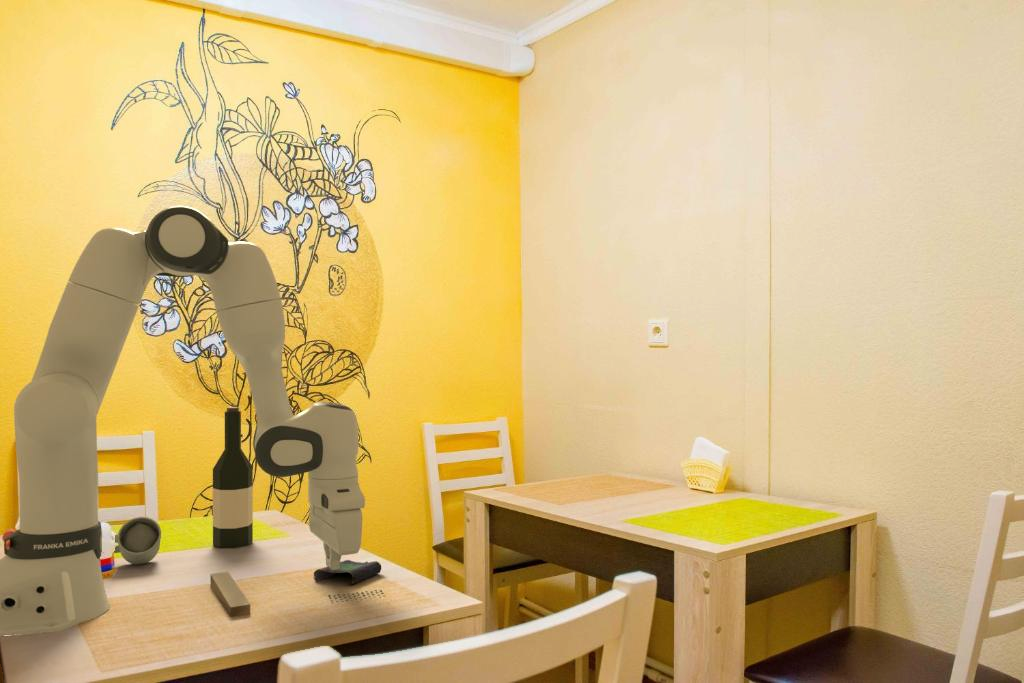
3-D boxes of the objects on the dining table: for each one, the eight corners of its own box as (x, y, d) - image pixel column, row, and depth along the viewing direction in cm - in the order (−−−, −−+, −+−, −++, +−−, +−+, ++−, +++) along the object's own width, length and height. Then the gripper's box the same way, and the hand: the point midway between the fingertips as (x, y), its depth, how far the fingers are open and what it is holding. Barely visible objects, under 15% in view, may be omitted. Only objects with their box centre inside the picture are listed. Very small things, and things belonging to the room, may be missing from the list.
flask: (312, 568, 145) (348, 557, 155) (312, 585, 145) (349, 572, 155) (353, 571, 141) (388, 559, 151) (353, 588, 141) (388, 575, 151)
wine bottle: (211, 540, 177) (211, 406, 177) (250, 536, 181) (250, 405, 180) (214, 549, 170) (214, 409, 169) (255, 545, 173) (254, 408, 173)
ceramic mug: (150, 571, 159) (167, 536, 164) (149, 559, 153) (167, 522, 158) (96, 555, 158) (115, 519, 162) (94, 542, 151) (113, 505, 156)
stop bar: (230, 626, 125) (230, 607, 125) (210, 590, 143) (210, 574, 143) (250, 623, 127) (250, 604, 127) (227, 588, 144) (227, 571, 144)
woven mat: (384, 599, 140) (384, 587, 140) (396, 619, 130) (397, 607, 130) (323, 605, 136) (323, 594, 136) (332, 627, 126) (332, 614, 126)
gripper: (301, 483, 151) (300, 556, 151) (332, 503, 133) (332, 585, 133) (333, 480, 154) (333, 551, 154) (368, 500, 136) (368, 580, 136)
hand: (333, 567), depth 144 cm, fingers closed
